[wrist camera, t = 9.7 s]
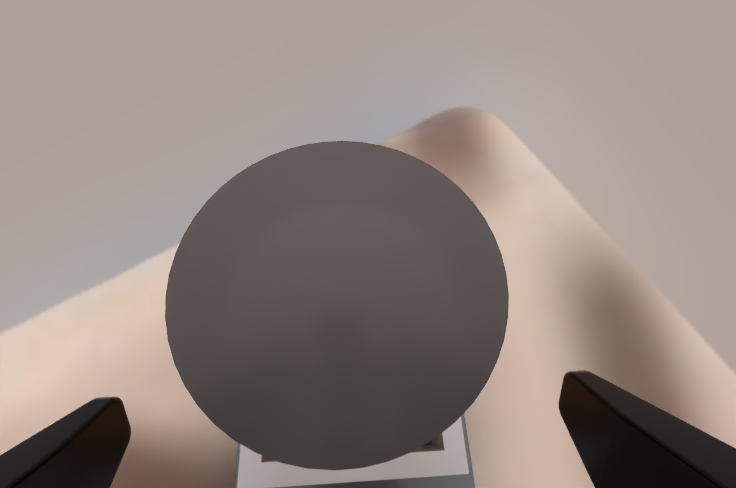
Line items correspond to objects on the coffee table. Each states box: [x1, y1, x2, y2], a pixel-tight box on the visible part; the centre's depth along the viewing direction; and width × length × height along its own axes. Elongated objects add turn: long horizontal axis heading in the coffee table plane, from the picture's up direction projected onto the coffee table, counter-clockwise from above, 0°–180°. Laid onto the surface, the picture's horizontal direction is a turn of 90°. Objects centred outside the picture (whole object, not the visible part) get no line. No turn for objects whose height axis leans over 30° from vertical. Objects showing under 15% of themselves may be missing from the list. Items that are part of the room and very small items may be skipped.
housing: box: [235, 413, 475, 488], centre depth 16 cm, size 15×10×4 cm, turn 3°
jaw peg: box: [165, 141, 508, 470], centre depth 11 cm, size 5×5×13 cm
